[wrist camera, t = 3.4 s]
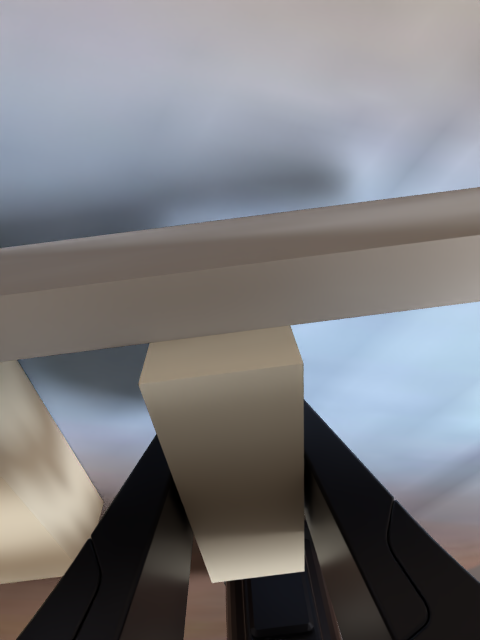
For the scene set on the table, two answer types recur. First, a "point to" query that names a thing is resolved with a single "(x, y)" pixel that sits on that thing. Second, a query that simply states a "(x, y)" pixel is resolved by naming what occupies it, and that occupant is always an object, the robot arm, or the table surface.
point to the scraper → (238, 338)
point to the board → (38, 487)
